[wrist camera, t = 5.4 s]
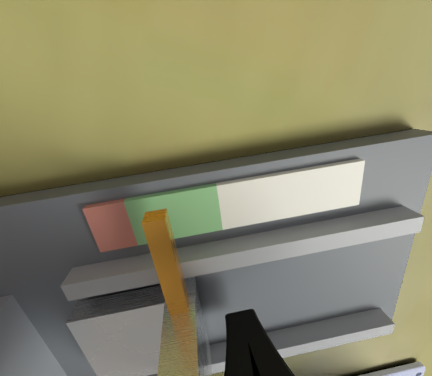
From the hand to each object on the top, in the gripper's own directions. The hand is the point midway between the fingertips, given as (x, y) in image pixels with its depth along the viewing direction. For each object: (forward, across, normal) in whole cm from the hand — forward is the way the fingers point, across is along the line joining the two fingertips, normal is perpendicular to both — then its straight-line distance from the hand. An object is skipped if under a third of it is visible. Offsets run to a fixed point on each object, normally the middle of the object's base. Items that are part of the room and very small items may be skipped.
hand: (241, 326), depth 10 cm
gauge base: (+3, +1, -1) cm, 3 cm away
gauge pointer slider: (+1, +4, -2) cm, 5 cm away
